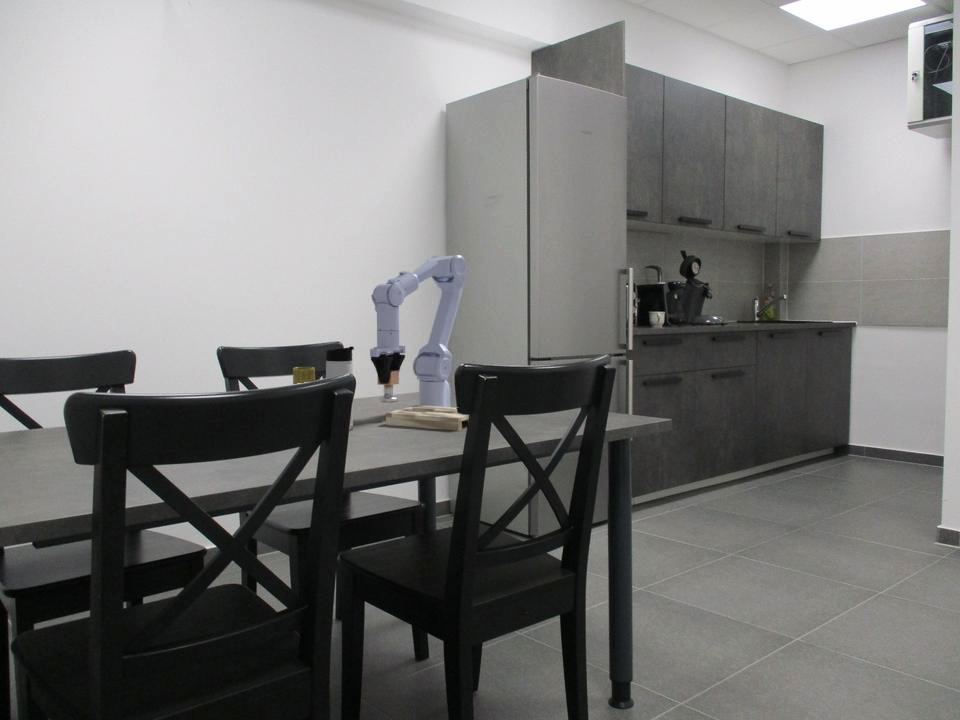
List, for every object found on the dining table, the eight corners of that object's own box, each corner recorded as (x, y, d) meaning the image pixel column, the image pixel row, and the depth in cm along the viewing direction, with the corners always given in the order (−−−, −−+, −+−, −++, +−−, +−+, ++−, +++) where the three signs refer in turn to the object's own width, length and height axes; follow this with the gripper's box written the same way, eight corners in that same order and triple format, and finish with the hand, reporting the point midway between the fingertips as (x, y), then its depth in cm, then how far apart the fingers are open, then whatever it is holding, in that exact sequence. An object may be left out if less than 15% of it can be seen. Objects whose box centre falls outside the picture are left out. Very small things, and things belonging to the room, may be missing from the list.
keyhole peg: (385, 399, 212) (385, 369, 211) (400, 400, 210) (400, 370, 209) (375, 401, 207) (375, 371, 207) (391, 402, 205) (391, 371, 205)
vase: (322, 424, 200) (321, 367, 199) (304, 427, 195) (303, 369, 194) (304, 422, 203) (303, 366, 202) (286, 425, 198) (285, 368, 197)
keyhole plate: (416, 416, 214) (416, 405, 214) (485, 421, 206) (485, 409, 206) (385, 424, 200) (385, 412, 200) (458, 430, 192) (458, 418, 192)
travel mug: (351, 432, 189) (351, 347, 188) (324, 431, 189) (323, 347, 188) (356, 427, 195) (356, 345, 194) (329, 427, 195) (328, 345, 194)
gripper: (388, 329, 215) (389, 379, 216) (359, 331, 202) (360, 384, 203) (412, 329, 212) (412, 380, 213) (383, 331, 199) (384, 386, 200)
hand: (388, 382), depth 208 cm, fingers closed on keyhole peg, 4 cm apart
